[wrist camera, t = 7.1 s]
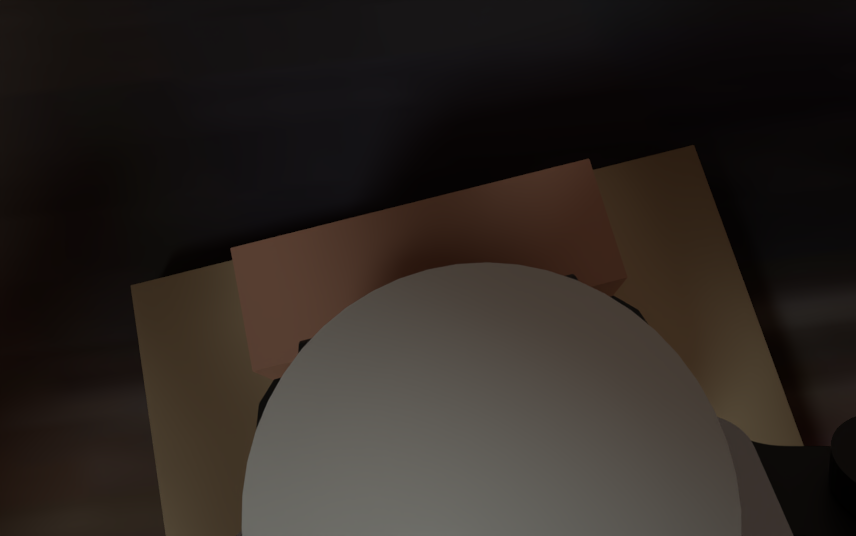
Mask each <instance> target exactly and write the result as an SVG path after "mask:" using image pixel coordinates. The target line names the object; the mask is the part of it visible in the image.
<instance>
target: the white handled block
mask: <svg viewBox="0 0 856 536" xmlns="http://www.w3.org/2000/svg"><path fill="white" fill-rule="evenodd" d="M242 536H741V505H740V498H739V491H738V484H737V477H736V472H735V469H734V465H733V461H732V458H731V454H730V450H729V446H728V443H727V440H726V438H725V435H724V433H723V430H722V428H721V425H720V423H719V420H718V418H717V416H716V413H715V411H714V409H713V407H712V405H711V404H710V402H709V400H708V398H707V396H706V395H705V393H704V391H703V389H702V387H701V386H700V384H699V382H698V381H697V379H696V378H695V376H694V375H693V374H692V372H691V371H690V370H689V368H688V367H687V366H686V364H685V363H684V362H683V360H682V359H681V357H680V356H679V355H678V354H677V353H676V352H675V350H674V349H673V348H672V347H671V346H670V345H669V344H668V343H667V342H666V341H665V340H664V339H663V338H662V337H661V336H660V335H659V334H658V332H657V331H656V330H654V329H653V328H652V327H651V326H649V325H648V324H647V323H646V322H645V321H643V320H642V319H641V318H640V317H639V316H637V315H636V314H635V313H634V312H633V311H631V310H630V309H628V308H627V307H625V306H624V305H622V304H620V303H619V302H617V301H616V300H614V299H613V298H611V297H609V296H608V295H606V294H605V293H603V292H601V291H598V290H596V289H594V288H592V287H590V286H588V285H586V284H584V283H582V282H580V281H578V280H575V279H572V278H569V277H566V276H563V275H560V274H557V273H554V272H551V271H548V270H543V269H538V268H533V267H528V266H523V265H518V264H504V263H490V262H484V263H466V264H455V265H449V266H444V267H438V268H433V269H428V270H425V271H421V272H418V273H415V274H412V275H409V276H406V277H403V278H399V279H397V280H395V281H393V282H391V283H389V284H387V285H384V286H382V287H380V288H378V289H376V290H374V291H372V292H370V293H368V294H367V295H365V296H364V297H362V298H361V299H359V300H357V301H356V302H354V303H353V304H351V305H349V306H348V307H346V308H345V309H344V310H343V311H341V312H340V313H339V314H338V315H337V316H335V317H334V318H333V319H332V320H330V321H329V322H328V323H327V324H326V325H324V326H323V327H322V328H321V329H320V330H319V331H318V332H317V333H316V334H315V336H314V337H313V338H312V339H311V340H310V341H309V342H308V343H307V344H306V345H305V346H304V347H303V348H302V349H301V351H300V352H299V353H298V355H297V356H296V357H295V359H294V360H293V361H292V363H291V364H290V366H289V367H288V368H287V370H286V371H285V372H284V374H283V375H282V377H281V379H280V381H279V383H278V384H277V386H276V388H275V390H274V391H273V393H272V395H271V397H270V399H269V400H268V402H267V405H266V407H265V410H264V412H263V414H262V417H261V419H260V422H259V424H258V427H257V429H256V432H255V435H254V439H253V443H252V446H251V450H250V454H249V457H248V461H247V467H246V473H245V480H244V487H243V494H242Z"/></svg>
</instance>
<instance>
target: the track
mask: <svg viewBox="0 0 856 536" xmlns="http://www.w3.org/2000/svg"><path fill="white" fill-rule="evenodd" d="M230 249H231V254H232V260H231V261H227V262H223V263H219V264H215V265H211V266H207V267H203V268H199V269H195V270H191V271H187V272H183V273H179V274H175V275H171V276H167V277H163V278H159V279H155V280H151V281H147V282H143V283H139V284H135V285H131V292H132V299H133V306H134V313H135V320H136V327H137V334H138V341H139V349H140V356H141V363H142V370H143V377H144V384H145V391H146V398H147V405H148V412H149V420H150V427H151V434H152V441H153V448H154V455H155V462H156V469H157V476H158V483H159V491H160V498H161V505H162V512H163V519H164V526H165V533H166V536H236V535H237V534H238V533H239V532H240V531H242V494H243V487H244V480H245V473H246V467H247V461H248V457H249V454H250V450H251V446H252V443H253V439H254V435H255V432H256V425H257V416H258V407H259V403H260V401H261V399H262V398H263V396H264V395H265V393H266V391H267V390H268V388H269V387H270V385H271V383H272V382H273V380H274V379H278V378H281V377H282V375H283V374H284V372H285V371H286V370H287V368H288V367H289V366H290V364H291V363H292V361H293V360H294V359H295V357H296V356H297V355H298V346H299V342H300V341H302V340H306V339H310V338H313V337H314V336H315V334H316V333H317V332H318V331H319V330H320V329H321V328H322V327H323V326H324V325H326V324H327V323H328V322H329V321H330V320H332V319H333V318H334V317H335V316H337V315H338V314H339V313H340V312H341V311H343V310H344V309H345V308H346V307H348V306H349V305H351V304H353V303H354V302H356V301H357V300H359V299H361V298H362V297H364V296H365V295H367V294H368V293H370V292H372V291H374V290H376V289H378V288H380V287H382V286H384V285H387V284H389V283H391V282H393V281H395V280H397V279H399V278H403V277H406V276H409V275H412V274H415V273H418V272H421V271H425V270H428V269H433V268H438V267H444V266H449V265H455V264H466V263H484V262H490V263H504V264H518V265H523V266H528V267H533V268H538V269H543V270H548V271H551V272H554V273H557V274H560V275H563V276H566V275H570V274H574V275H575V276H576V277H577V279H578V281H580V282H582V283H584V284H586V285H588V286H590V287H592V288H594V289H596V290H598V291H601V292H603V293H605V294H606V295H608V296H609V297H610V296H615V297H617V298H619V299H621V300H622V301H624V302H626V303H627V304H629V305H631V306H633V307H634V308H636V309H638V310H639V311H640V313H641V314H642V316H643V317H644V319H645V320H646V322H647V323H648V325H649V326H651V327H652V328H653V329H654V330H656V331H657V332H658V334H659V335H660V336H661V337H662V338H663V339H664V340H665V341H666V342H667V343H668V344H669V345H670V346H671V347H672V348H673V349H674V350H675V352H676V353H677V354H678V355H679V356H680V357H681V359H682V360H683V362H684V363H685V364H686V366H687V367H688V368H689V370H690V371H691V372H692V374H693V375H694V376H695V378H696V379H697V381H698V382H699V384H700V386H701V387H702V389H703V391H704V393H705V395H706V396H707V398H708V400H709V402H710V404H711V405H712V407H713V409H714V411H715V413H716V416H717V417H719V418H722V419H724V420H727V421H729V422H731V423H732V424H734V425H736V426H737V427H738V428H740V429H741V430H742V431H743V432H744V433H745V434H746V435H747V436H748V437H749V438H750V440H751V441H754V442H758V443H762V444H769V445H778V446H804V445H803V442H802V440H801V437H800V434H799V431H798V429H797V426H796V423H795V420H794V418H793V415H792V412H791V410H790V407H789V404H788V401H787V399H786V396H785V393H784V390H783V388H782V385H781V382H780V379H779V377H778V374H777V371H776V368H775V366H774V363H773V360H772V357H771V355H770V352H769V349H768V346H767V344H766V341H765V338H764V336H763V333H762V330H761V327H760V325H759V322H758V319H757V316H756V314H755V311H754V308H753V305H752V303H751V300H750V297H749V294H748V292H747V289H746V286H745V283H744V281H743V278H742V275H741V273H740V270H739V267H738V264H737V262H736V259H735V256H734V253H733V251H732V248H731V245H730V242H729V240H728V237H727V234H726V231H725V229H724V226H723V223H722V220H721V218H720V215H719V212H718V210H717V207H716V204H715V201H714V199H713V196H712V193H711V190H710V188H709V185H708V182H707V179H706V177H705V174H704V171H703V168H702V166H701V163H700V160H699V157H698V155H697V152H696V149H695V147H694V145H691V146H687V147H683V148H679V149H675V150H671V151H667V152H663V153H659V154H655V155H651V156H647V157H643V158H639V159H635V160H631V161H627V162H623V163H619V164H615V165H611V166H607V167H603V168H599V169H595V170H593V169H592V166H591V163H590V160H589V159H585V160H581V161H577V162H573V163H569V164H565V165H561V166H557V167H553V168H549V169H545V170H541V171H537V172H533V173H529V174H525V175H521V176H517V177H513V178H509V179H505V180H501V181H497V182H493V183H489V184H485V185H481V186H477V187H473V188H469V189H465V190H461V191H457V192H453V193H449V194H445V195H441V196H437V197H433V198H429V199H425V200H421V201H417V202H413V203H409V204H405V205H401V206H397V207H393V208H389V209H385V210H381V211H377V212H373V213H369V214H365V215H361V216H357V217H353V218H349V219H345V220H341V221H337V222H333V223H329V224H325V225H321V226H317V227H313V228H309V229H305V230H301V231H297V232H293V233H289V234H285V235H281V236H277V237H273V238H269V239H265V240H261V241H257V242H253V243H249V244H245V245H241V246H237V247H233V248H230Z"/></svg>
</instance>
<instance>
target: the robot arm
mask: <svg viewBox="0 0 856 536" xmlns="http://www.w3.org/2000/svg"><path fill="white" fill-rule="evenodd" d="M566 277H569V278H572V279H575V280H578V279H577V277H576V276H575V275H574V274H570V275H566ZM610 297H611V298H613V299H614V300H616V301H617V302H619V303H620V304H622V305H624V306H625V307H627V308H628V309H630V310H631V311H633V312H634V313H635V314H636V315H637V316H639V317H640V318H641V319H642V320H643V321H645V322H646V320H645V319H644V317H643V316H642V314H641V313H640V311H639V310H638V309H636V308H634V307H633V306H631V305H629V304H627V303H626V302H624V301H622V300H621V299H619V298H617V297H615V296H610ZM646 323H647V322H646ZM647 324H648V323H647ZM311 339H312V338H310V339H306V340H302V341H300V342H299V346H298V353H299V352H300V351H301V349H302V348H303V347H304V346H305V345H306V344H307V343H308V342H309V341H310V340H311ZM280 379H281V378H278V379H274V380H273V382H272V383H271V385H270V387H269V388H268V390H267V391H266V393H265V395H264V396H263V398H262V399H261V401H260V403H259V407H258V416H257V425H256V429H257V427H258V424H259V422H260V419H261V417H262V414H263V412H264V410H265V407H266V405H267V402H268V400H269V399H270V397H271V395H272V393H273V391H274V390H275V388H276V386H277V384H278V383H279V381H280ZM717 418H718V420H719V423H720V425H721V428H722V430H723V433H724V435H725V438H726V440H727V443H728V446H729V450H730V454H731V458H732V461H733V465H734V469H735V472H736V477H737V484H738V491H739V498H740V505H741V536H856V417H853V418H851V419H849V420H847V421H846V422H844V423H843V424H841V425H840V426H839V427H838V428H837V430H836V431H835V433H834V434H833V437H832V441H831V446H778V445H769V444H762V443H758V442H754V441H751V440H750V438H749V437H748V436H747V435H746V434H745V433H744V432H743V431H742V430H741V429H740V428H738V427H737V426H736V425H734V424H732V423H731V422H729V421H727V420H724V419H722V418H719V417H717ZM236 536H242V531H240V532H239V533H238V534H237V535H236Z"/></svg>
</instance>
